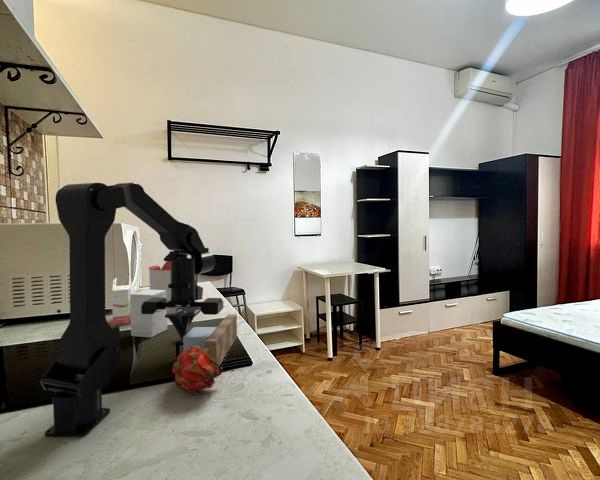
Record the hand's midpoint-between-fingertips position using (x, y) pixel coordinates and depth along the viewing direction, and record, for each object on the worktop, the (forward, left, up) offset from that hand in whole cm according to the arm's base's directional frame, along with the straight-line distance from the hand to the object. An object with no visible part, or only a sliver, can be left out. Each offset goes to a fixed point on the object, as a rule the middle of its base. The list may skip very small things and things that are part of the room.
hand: (184, 339), depth 75 cm
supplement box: (+16, +17, -4) cm, 24 cm away
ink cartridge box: (+27, +32, -4) cm, 42 cm away
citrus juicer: (+42, +22, -4) cm, 48 cm away
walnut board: (+1, -10, -4) cm, 10 cm away
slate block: (0, -5, -4) cm, 6 cm away
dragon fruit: (-15, -9, -4) cm, 17 cm away
